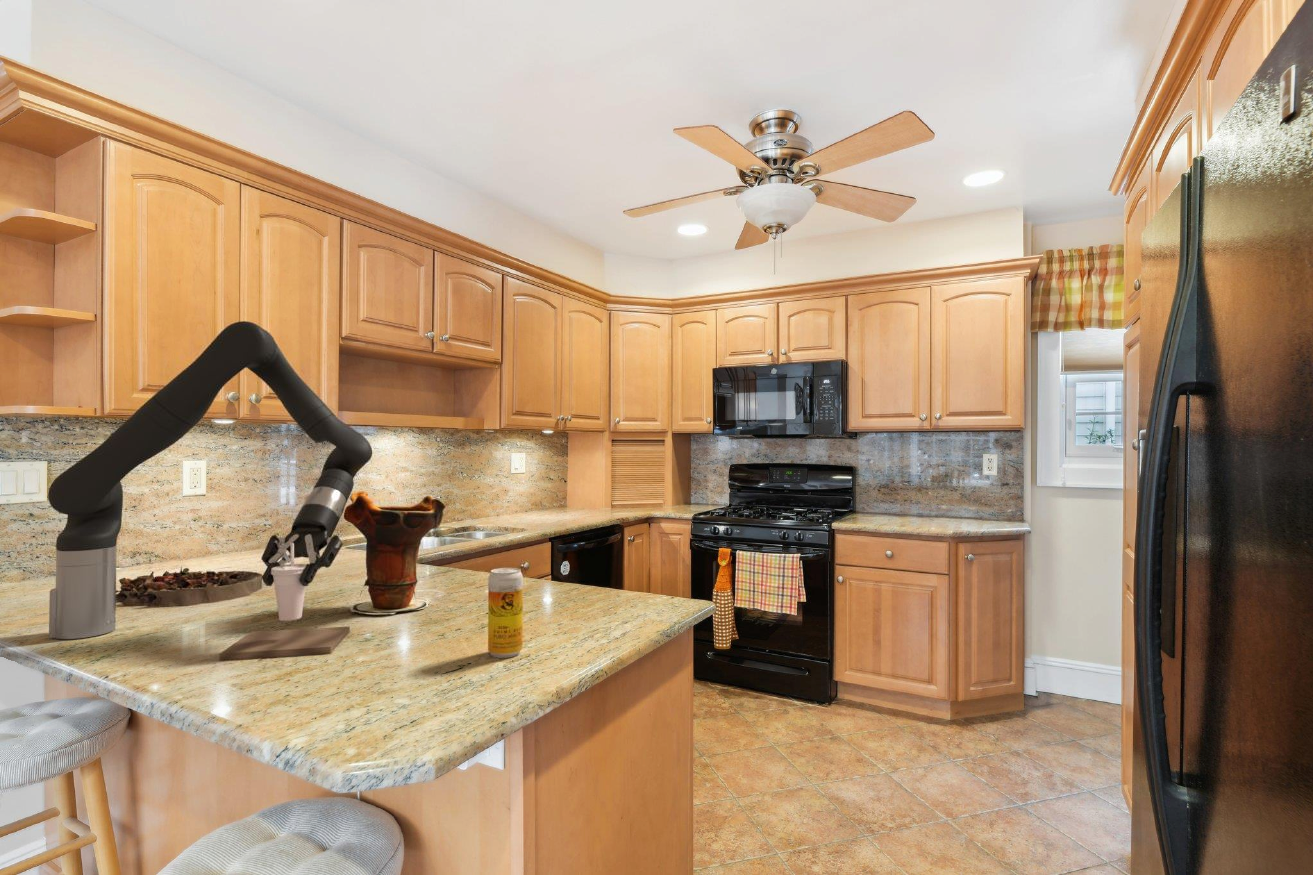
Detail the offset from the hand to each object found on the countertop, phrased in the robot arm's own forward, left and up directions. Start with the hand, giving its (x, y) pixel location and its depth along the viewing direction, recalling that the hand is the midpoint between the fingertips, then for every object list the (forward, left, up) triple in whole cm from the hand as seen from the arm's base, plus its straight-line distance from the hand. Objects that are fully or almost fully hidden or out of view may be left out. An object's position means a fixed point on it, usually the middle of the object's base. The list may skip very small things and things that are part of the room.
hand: (285, 583), depth 122 cm
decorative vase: (+14, +29, -12) cm, 35 cm away
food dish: (-41, +58, -13) cm, 72 cm away
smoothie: (+1, +2, -7) cm, 7 cm away
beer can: (+40, -13, -12) cm, 44 cm away
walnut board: (0, +1, -12) cm, 12 cm away
